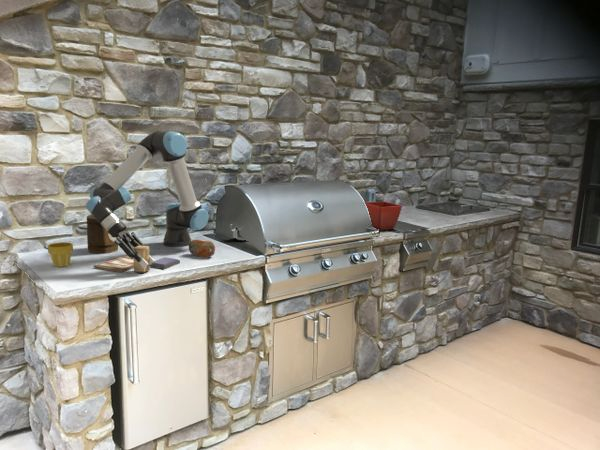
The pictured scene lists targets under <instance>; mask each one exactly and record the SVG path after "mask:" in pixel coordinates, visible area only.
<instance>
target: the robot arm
mask: <svg viewBox="0 0 600 450" xmlns="http://www.w3.org/2000/svg"><path fill="white" fill-rule="evenodd" d="M135 148H136V149H135V150H134V151H132V153H131V154H130V155H129V156H128V157H127V158H126V159H125V160H124V161H123V162H122V163H121V164H120V165H119V166H118V167H117V169H115V171H113V172H112V173H111V174H110V175H109V176H108V177H107V179H105V180H104V182H102V184H101V185H100V186H96V187H93V188H91V190H90V191H89V198H90V199H89V200H87V202H86V203H85V209H87V211H88V212H89V215H93V216H94V217H95V218H96V219H97V221H98V222H99V223H100V224H101V225H102V226H103V227H104V228H105V229H106V230H107V231H108V233H109V234H110V235H111V236H112V237H113V238H115V237H116V240H115V241H114V242H115V243H116V244H117V245H118V248H120V249H121V250H122V251H123V252H124V253H125V255H128V257H131V258H132V259H133V258H135V259H136V260H137V261H138V262H139V264H140V265H141V266H142V267H143V268H145V267H146V266H147V265H148V263H147V262H146V261H145V260H144V259H143V257H142V256H141V255H140V254H139V253H138V254H137V252H136V251H135V250H134V248H135V247H137V246H146V245H145V244H144V243H143V242H142V241H141V240H140V238H139V237H137V235H136V234H135V232H133V231H132V232H130V231H128V230H127V226H126V225H125V223H124V222H123V221H122V220H121V218H120V217H119V216H118V215H117V214H116V213H115V211H116V210H118V209H120V208H121V207H123V206H125V205H126V204H128V203H129V202H131V200H132V195H131V192H130V191H129V190H128V189H127V187H124V186H125V185H126V184H127V182H128V181H129V180H130V179H131V178H132V177H133V176H134V175H135V174H136V173H137V172H138V171H139V170H140V168H141V167H143V166H144V164H145V163H146V162H147V161H148V160H152V159H153V158H154V157H155V156H157V155H160V156H161V158H162V161H163V162H164V163H166V164H167V167H168V170H169V173H170V176H171V179H172V182H173V185H174V187H175V191H176V194H177V197H178V201H179V202H171V203H168V204H166V208H165V221H166V225H165V226H166V228H165V229H166V231H165V233H164V237H163V240H162V241H163V246H168V247H186V246H189V244H190V242H191V241H192V238H191V235H190V233H189V229H191V230H193V231H196V230H197V231H200V230H202V229H204V228H205V227H206V226H207V224H208V222H209V217H210V216H209V212H208V210H206V209H205V208H203V207H202V204H201V202H200V201H199V200H197V197H196V194H195V191H194V187H193V184H192V181H191V178H190V174H189V171H188V168H187V164H186V161H185V158H186V156H187V155H186V153H187V150H188V142H187V140H186V137H185V136H184V135H183V134H182V133H180V132H177V131H173V130H172V131H171V130H170V131H162V130H155V131H152V132H151V133H149V134H148V135H146V136H145V137H144V138H143V139H142V140H140V142H138V143H137V145H135ZM116 215H117V216H116ZM154 261H156V260H155V259H154V258H153V257H152V256H151V255H150V254H149V262H150V265H151V264H152V263H153V262H154Z"/></svg>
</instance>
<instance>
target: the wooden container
mask: <svg viewBox="0 0 600 450" xmlns="http://www.w3.org/2000/svg"><path fill="white" fill-rule="evenodd" d="M115 215H116V216H117V217H118V215H117V214H115ZM86 235H87V236H86V237H87V241H86V242H87V251H88V252H89V253H90V254H91V253H92V254H98V255H99V254H100V255H101V254H102V255H103V254H110V253H114V252H117V251H118V250H119V245H117V244H116V243H115V242H114V241H115V240H116V237H115V238H113V237H112V236H111V235H110V234H109V233H108V231H107V230H106V229H105V228H104V227H103V226H102V225H101V224H100V223H99V222H98V221H97V219H96V218H95V217H94V216H93V215H92V214H89V215H87V216H86Z"/></svg>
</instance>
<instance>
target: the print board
mask: <svg viewBox="0 0 600 450" xmlns="http://www.w3.org/2000/svg"><path fill="white" fill-rule="evenodd" d="M93 269H98V270H104V271H109V272H115V273H121V274H122V273H125V272H127V271H130V270H134V259H132V258H131V257H128V255H127V254H125V255H122V256H118V257H116V258H113V259H112V258H111V259H109V260H107V261H104V262H100V263H98V264H95V265H93Z"/></svg>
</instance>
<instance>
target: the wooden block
mask: <svg viewBox="0 0 600 450" xmlns="http://www.w3.org/2000/svg"><path fill="white" fill-rule="evenodd" d="M133 248H134V247H133ZM134 250H135V251H136V252H137V254H138V253H139V254H140V255H141V256H142V257H143V259H144V260H145V261H146V262H147V263H148V265H147V266H146V267H145V268H143V267H142V266H141V265H140V264H139V262H138V261H137V260H136V259H135V258H133V259H134V268H133V272H134V273H142V274H145V273H146V272H148V271H150V269H151V267H150V262H149V255H150V246H148V245H145V246H137V247H135V248H134Z"/></svg>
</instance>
